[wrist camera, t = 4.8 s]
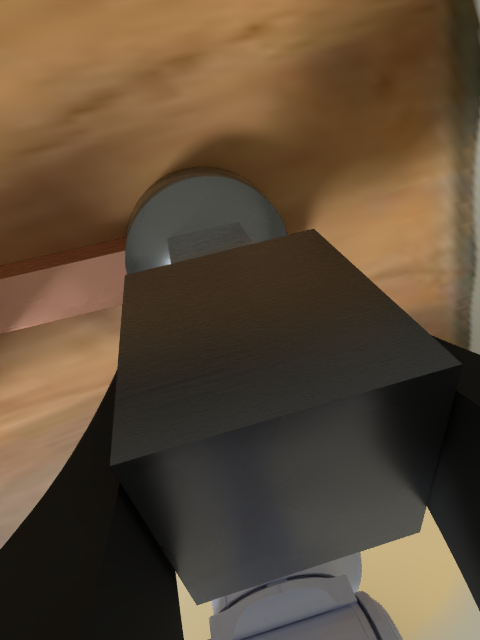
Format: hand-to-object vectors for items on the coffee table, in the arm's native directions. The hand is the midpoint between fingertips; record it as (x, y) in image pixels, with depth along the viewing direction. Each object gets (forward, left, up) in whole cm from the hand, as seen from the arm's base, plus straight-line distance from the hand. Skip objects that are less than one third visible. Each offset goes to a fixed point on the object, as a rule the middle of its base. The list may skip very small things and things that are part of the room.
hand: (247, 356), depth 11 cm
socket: (0, 0, -1) cm, 1 cm away
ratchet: (+3, +3, -8) cm, 9 cm away
